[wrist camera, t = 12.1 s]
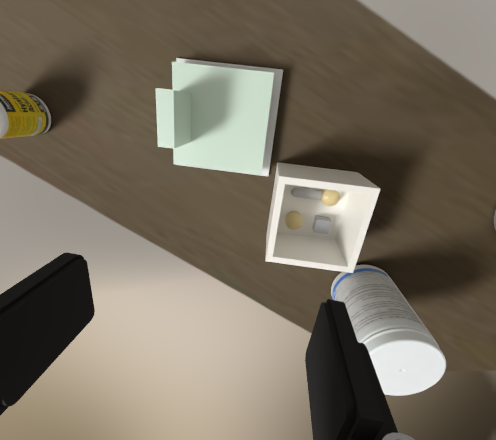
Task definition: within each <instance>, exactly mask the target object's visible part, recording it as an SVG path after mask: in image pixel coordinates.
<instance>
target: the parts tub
mask: <svg viewBox="0 0 496 440" xmlns="http://www.w3.org/2000/svg"><path fill="white" fill-rule="evenodd" d="M379 192H380V188H379V187H378V186H376V185H375V184H373V183H372V182H371V181H369V180H368V179H366V178H365V177H364V176H362V175H361V174H360V173H358V172H352V171H344V170H336V169H327V168H319V167H311V166H303V165H295V164H287V163H279V162H278V163H277V169H276V176H275V182H274V189H273V196H272V202H271V209H270V215H269V222H268V229H267V240H266V261H268V262H276V263H283V264H290V265H297V266H305V267H312V268H319V269H326V270H333V271H341V272H348V273H353V271H354V268H355V265H356V262H357V259H358V256H359V253H360V250H361V247H362V244H363V241H364V238H365V235H366V232H367V229H368V226H369V223H370V220H371V217H372V214H373V211H374V208H375V205H376V202H377V199H378V196H379Z"/></svg>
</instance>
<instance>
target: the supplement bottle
mask: <svg viewBox="0 0 496 440" xmlns="http://www.w3.org/2000/svg"><path fill="white" fill-rule="evenodd" d="M50 126H51V115H50V112H49V109H48V108H47V106H46V105H45V103H44V102H43V101H42V100H41V99H40V98H38V97H37V96H35V95H33V94H29V93H23V92H11V91H1V90H0V138H10V137H22V136H33V135H41V134H44V133H46V132H47V131H48V130H49V128H50Z"/></svg>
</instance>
